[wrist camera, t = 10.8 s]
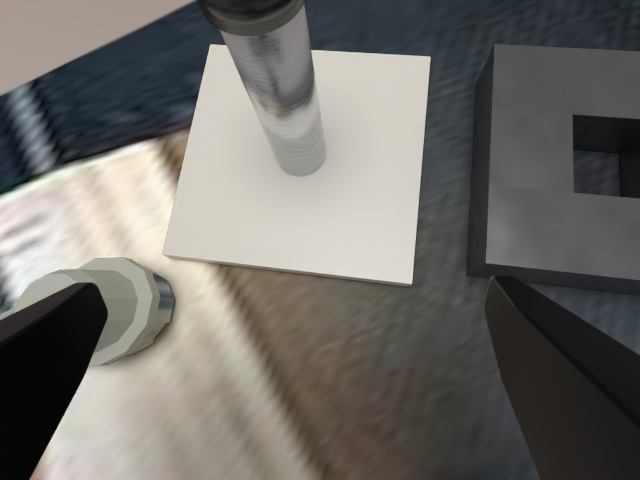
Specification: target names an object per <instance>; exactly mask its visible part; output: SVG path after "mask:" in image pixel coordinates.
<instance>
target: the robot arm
mask: <svg viewBox="0 0 640 480" xmlns="http://www.w3.org/2000/svg"><path fill="white" fill-rule="evenodd" d="M485 316H486V320H487V324H488V328H489V332H490V336H491V340H492V344H493V348H494V351H495V355H496V359H497V363H498V367H499V371H500V374H501V378H502V381H503V384H504V386H505V389H506V392H507V394H508V397H509V399H510V402H511V405H512V407H513V410H514V412H515V415H516V418H517V420H518V423H519V425H520V428H521V431H522V433H523V436H524V438H525V441H526V444H527V446H528V449H529V451H530V454H531V456H532V459H533V462H534V464H535V467H536V469H537V472H538V475H539V477H540V480H640V355H639V354H637V353H636V352H634V351H632V350H631V349H629V348H628V347H626V346H624V345H623V344H621V343H620V342H618V341H616V340H615V339H613V338H612V337H610V336H608V335H607V334H605V333H604V332H602V331H600V330H599V329H597V328H596V327H594V326H592V325H591V324H589V323H588V322H586V321H584V320H583V319H581V318H580V317H578V316H576V315H575V314H573V313H572V312H570V311H568V310H567V309H565V308H564V307H562V306H560V305H559V304H557V303H556V302H554V301H552V300H551V299H549V298H548V297H546V296H544V295H543V294H541V293H540V292H538V291H536V290H535V289H533V288H532V287H530V286H528V285H527V284H525V283H524V282H522V281H520V280H519V279H517V278H516V277H514V276H512V275H493V276H492V277H491V278H490V280H489V285H488V290H487V296H486V302H485ZM107 318H108V309H107V306H106V304H105V302H104V299H103V297H102V295H101V292H100V290H99V288H98V286H97V285H96V284H95V283H93V282H78V283H74V284H72V285H70V286H68V287H66V288H64V289H62V290H60V291H58V292H56V293H54V294H52V295H50V296H48V297H46V298H44V299H42V300H40V301H38V302H36V303H34V304H32V305H30V306H28V307H26V308H23V309H21V310H19V311H17V312H15V313H13V314H11V315H9V316H7V317H5V318H3V319H1V320H0V480H30V478H31V476H32V474H33V472H34V470H35V469H36V467H37V465H38V463H39V461H40V459H41V457H42V455H43V453H44V451H45V450H46V448H47V446H48V444H49V442H50V440H51V438H52V436H53V434H54V433H55V431H56V429H57V427H58V425H59V423H60V421H61V419H62V417H63V416H64V414H65V412H66V410H67V408H68V406H69V404H70V402H71V400H72V399H73V397H74V395H75V393H76V391H77V389H78V387H79V385H80V383H81V381H82V379H83V377H84V375H85V373H86V371H87V368H88V366H89V363H90V361H91V359H92V356H93V354H94V351H95V349H96V346H97V344H98V341H99V339H100V336H101V334H102V331H103V329H104V326H105V324H106V321H107Z"/></svg>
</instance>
